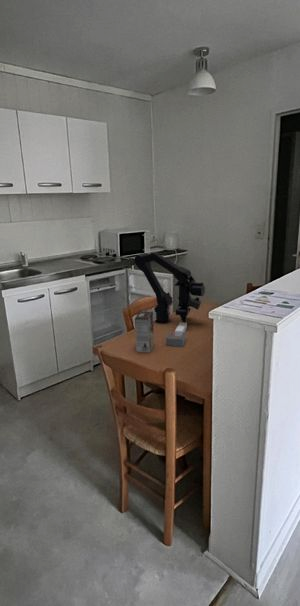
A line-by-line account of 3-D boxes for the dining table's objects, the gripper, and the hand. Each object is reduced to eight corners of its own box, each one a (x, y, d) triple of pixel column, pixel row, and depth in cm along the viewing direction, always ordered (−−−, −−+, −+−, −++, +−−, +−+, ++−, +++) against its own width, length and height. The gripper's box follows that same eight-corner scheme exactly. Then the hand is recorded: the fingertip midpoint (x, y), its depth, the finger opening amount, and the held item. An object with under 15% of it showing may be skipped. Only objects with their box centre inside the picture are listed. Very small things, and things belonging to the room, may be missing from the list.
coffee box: (140, 343, 167) (139, 311, 162) (154, 344, 166) (153, 311, 161) (136, 351, 158) (134, 317, 153) (150, 352, 157) (149, 318, 152)
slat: (174, 336, 174) (174, 330, 173) (180, 327, 185) (180, 322, 184) (181, 337, 173) (181, 331, 172) (186, 328, 184) (186, 322, 183)
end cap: (166, 345, 164) (166, 338, 163) (169, 338, 172) (169, 331, 171) (182, 346, 162) (182, 339, 161) (185, 339, 170) (185, 332, 169)
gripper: (197, 300, 173) (197, 330, 178) (202, 290, 190) (201, 317, 195) (175, 299, 176) (175, 328, 180) (181, 289, 193) (181, 316, 198)
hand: (184, 322), depth 188 cm, fingers closed
